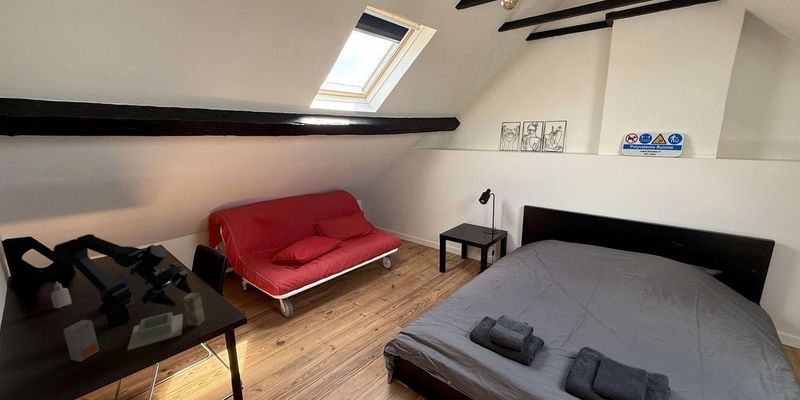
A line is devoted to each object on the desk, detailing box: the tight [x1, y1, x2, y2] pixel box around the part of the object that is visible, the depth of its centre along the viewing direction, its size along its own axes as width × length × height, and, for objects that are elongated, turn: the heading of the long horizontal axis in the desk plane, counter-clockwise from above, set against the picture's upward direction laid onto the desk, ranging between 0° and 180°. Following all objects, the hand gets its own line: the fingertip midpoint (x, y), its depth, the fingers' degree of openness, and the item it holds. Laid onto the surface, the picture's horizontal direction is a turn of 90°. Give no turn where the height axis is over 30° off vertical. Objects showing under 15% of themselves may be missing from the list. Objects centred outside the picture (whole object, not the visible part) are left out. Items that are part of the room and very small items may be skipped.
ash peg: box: [183, 292, 206, 327], centre depth 129 cm, size 4×4×12 cm
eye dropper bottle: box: [50, 281, 73, 309], centre depth 144 cm, size 4×6×12 cm
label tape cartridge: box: [117, 273, 135, 307], centre depth 146 cm, size 9×4×12 cm, turn 50°
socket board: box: [127, 311, 184, 351], centre depth 125 cm, size 16×16×4 cm
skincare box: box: [63, 319, 100, 362], centre depth 111 cm, size 6×4×12 cm
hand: (183, 299), depth 128 cm, fingers open, 9 cm apart
